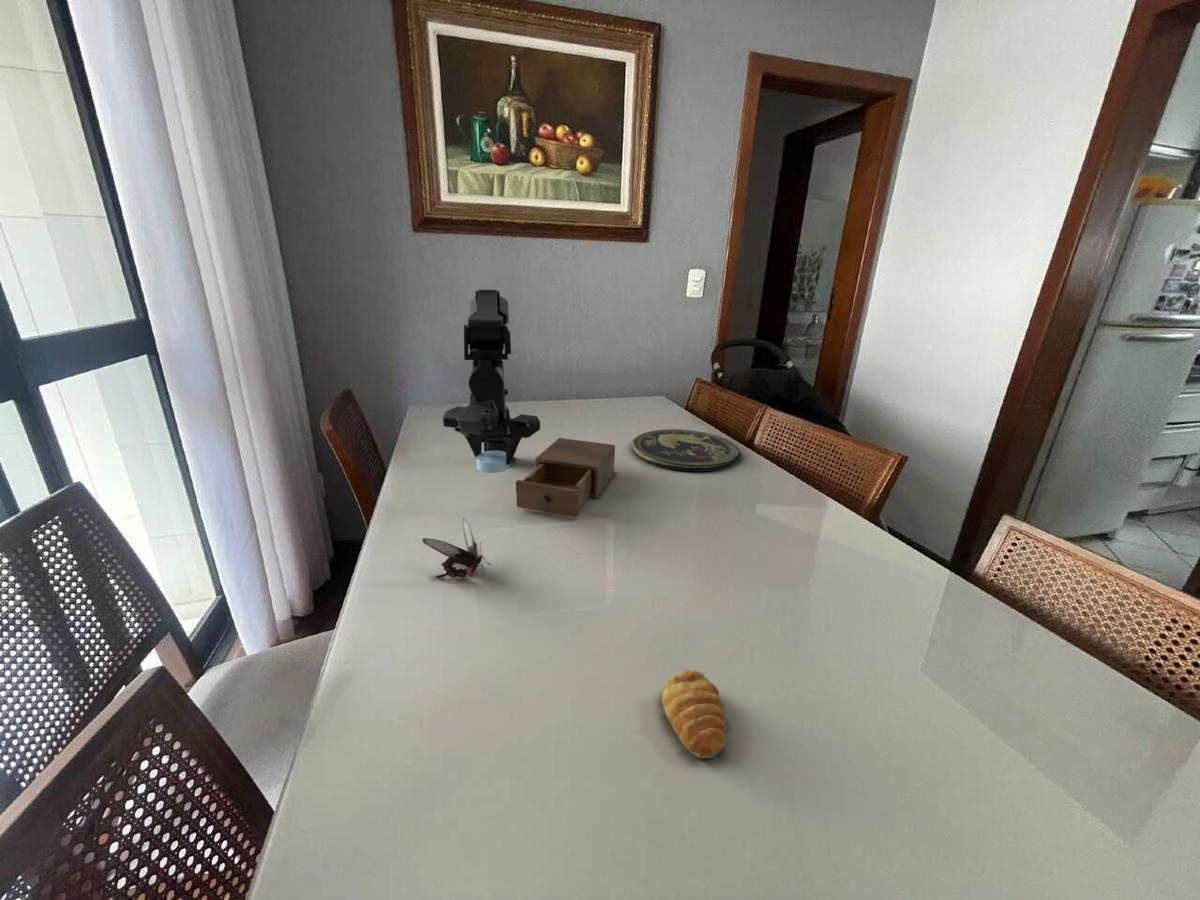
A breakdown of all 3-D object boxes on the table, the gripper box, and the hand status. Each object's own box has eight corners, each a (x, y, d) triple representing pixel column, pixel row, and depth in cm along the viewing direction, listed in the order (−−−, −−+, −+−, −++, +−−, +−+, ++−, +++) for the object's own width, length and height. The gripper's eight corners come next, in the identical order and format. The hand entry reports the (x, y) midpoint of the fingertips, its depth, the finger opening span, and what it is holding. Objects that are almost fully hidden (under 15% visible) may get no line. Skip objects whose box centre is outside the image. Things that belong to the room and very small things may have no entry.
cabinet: (596, 498, 108) (597, 467, 105) (536, 488, 112) (535, 458, 109) (614, 473, 121) (615, 445, 119) (559, 465, 125) (559, 437, 122)
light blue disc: (470, 470, 97) (469, 459, 96) (487, 458, 103) (487, 448, 102) (500, 475, 95) (499, 464, 94) (515, 462, 101) (515, 453, 100)
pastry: (740, 758, 52) (744, 733, 51) (679, 767, 51) (682, 741, 50) (708, 687, 61) (712, 663, 59) (656, 693, 60) (658, 669, 58)
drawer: (575, 520, 97) (575, 494, 95) (514, 509, 101) (513, 484, 98) (597, 490, 110) (597, 466, 108) (542, 481, 114) (542, 458, 112)
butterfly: (447, 598, 81) (416, 547, 82) (490, 570, 86) (460, 522, 86) (455, 593, 72) (420, 536, 73) (503, 562, 76) (469, 508, 77)
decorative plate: (750, 469, 121) (630, 461, 123) (749, 476, 122) (629, 468, 124) (731, 431, 149) (633, 425, 151) (730, 437, 150) (633, 431, 152)
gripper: (420, 391, 88) (429, 469, 94) (513, 402, 83) (516, 484, 89) (456, 378, 98) (461, 450, 104) (540, 387, 93) (542, 462, 99)
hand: (493, 461), depth 98 cm, fingers closed on light blue disc, 6 cm apart
